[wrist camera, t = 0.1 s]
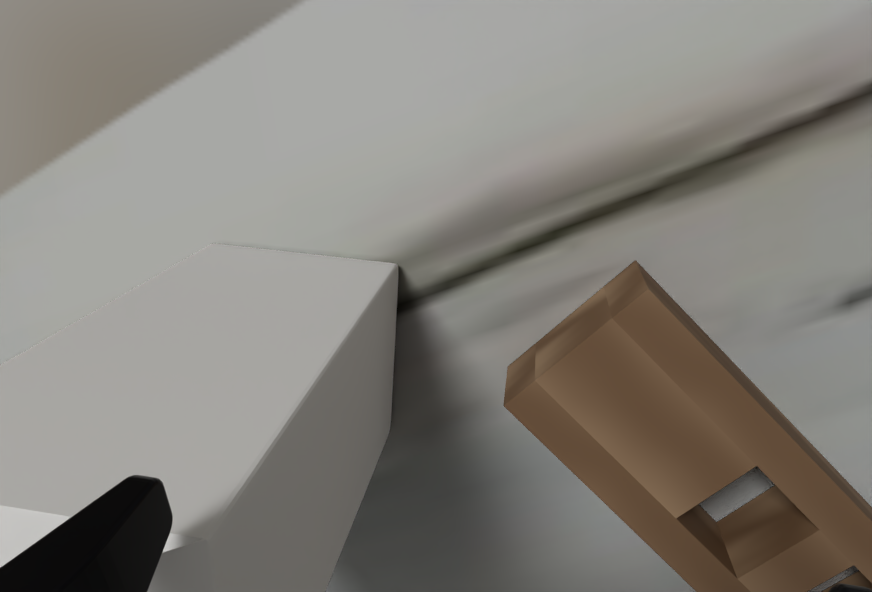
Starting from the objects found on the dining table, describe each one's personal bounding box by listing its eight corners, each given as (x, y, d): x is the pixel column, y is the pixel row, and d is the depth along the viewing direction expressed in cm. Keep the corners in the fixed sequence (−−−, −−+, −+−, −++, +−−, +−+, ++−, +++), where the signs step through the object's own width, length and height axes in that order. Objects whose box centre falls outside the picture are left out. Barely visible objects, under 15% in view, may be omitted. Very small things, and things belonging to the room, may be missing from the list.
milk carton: (400, 261, 24) (24, 812, 7) (391, 431, 27) (98, 1164, 9) (213, 240, 25) (-565, 683, 7) (221, 407, 28) (-350, 1038, 10)
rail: (875, 724, 28) (911, 799, 25) (507, 366, 25) (503, 405, 22) (1016, 658, 26) (1073, 731, 23) (635, 260, 23) (648, 289, 20)
